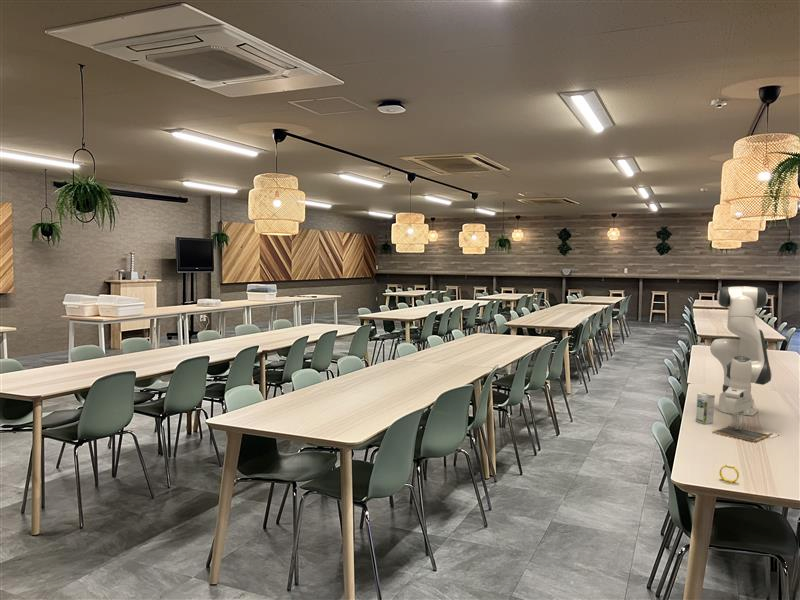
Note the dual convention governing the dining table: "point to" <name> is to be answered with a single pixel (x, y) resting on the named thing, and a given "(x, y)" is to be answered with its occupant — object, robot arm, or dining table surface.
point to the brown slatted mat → (741, 434)
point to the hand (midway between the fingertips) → (738, 420)
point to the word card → (771, 434)
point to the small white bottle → (739, 423)
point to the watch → (729, 467)
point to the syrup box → (705, 408)
